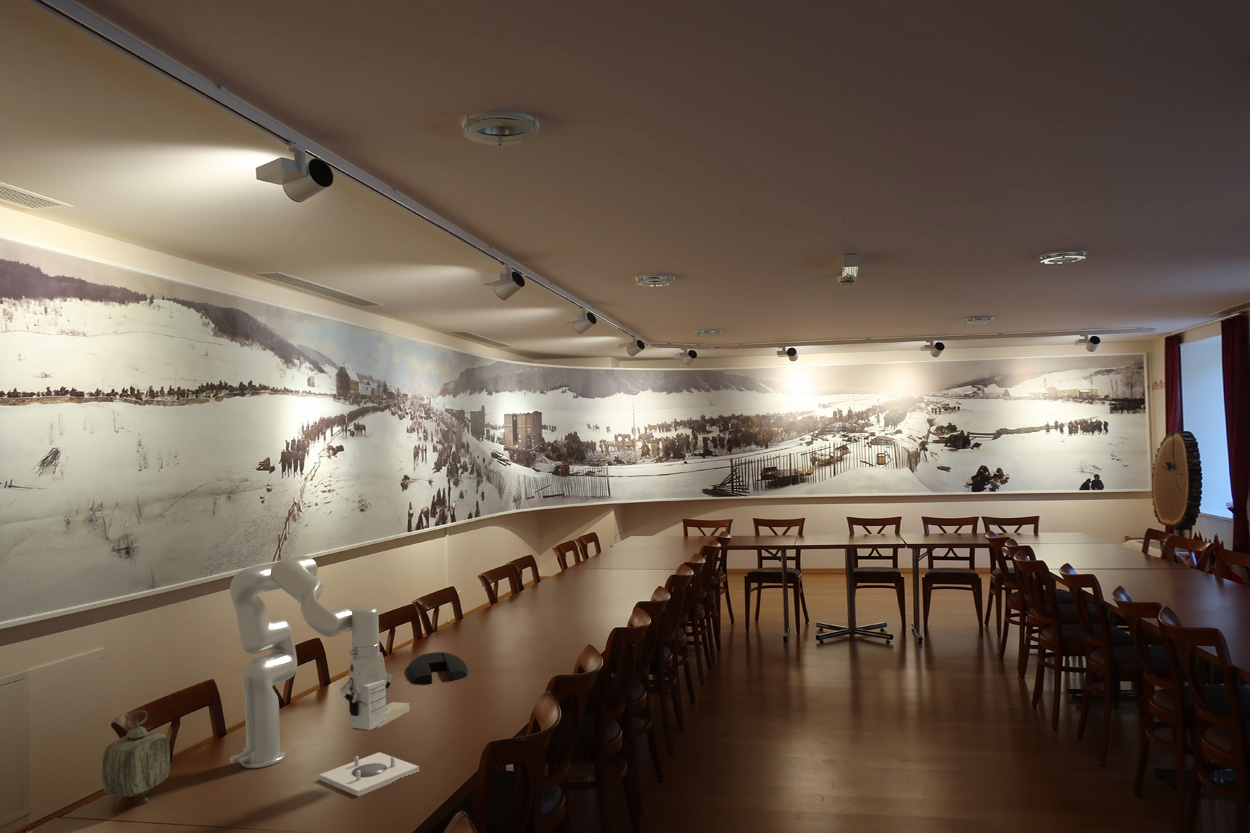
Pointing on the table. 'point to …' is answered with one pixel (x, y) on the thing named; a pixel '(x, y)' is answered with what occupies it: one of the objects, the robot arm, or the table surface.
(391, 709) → the electrical outlet
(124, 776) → the tabletop clock
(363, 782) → the locating plate
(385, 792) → the table surface
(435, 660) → the docking station
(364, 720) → the supplement box
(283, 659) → the robot arm
